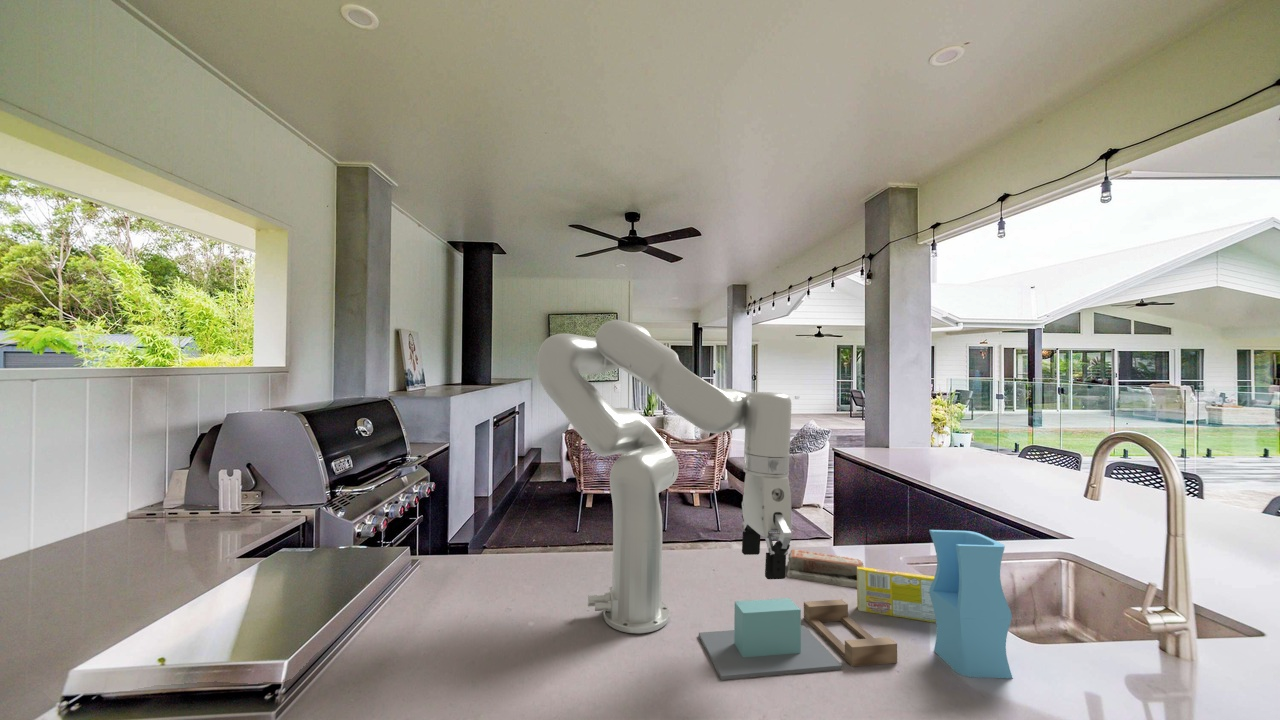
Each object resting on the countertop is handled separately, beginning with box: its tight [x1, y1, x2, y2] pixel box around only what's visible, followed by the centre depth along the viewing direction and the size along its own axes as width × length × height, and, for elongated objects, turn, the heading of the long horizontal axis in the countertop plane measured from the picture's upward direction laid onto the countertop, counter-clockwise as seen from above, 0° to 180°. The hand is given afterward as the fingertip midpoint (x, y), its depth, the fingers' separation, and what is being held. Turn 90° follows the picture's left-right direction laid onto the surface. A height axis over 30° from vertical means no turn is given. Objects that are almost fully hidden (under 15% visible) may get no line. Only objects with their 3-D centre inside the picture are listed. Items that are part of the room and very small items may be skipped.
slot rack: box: [803, 598, 898, 668], centre depth 81 cm, size 8×15×3 cm, turn 9°
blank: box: [733, 597, 802, 657], centre depth 77 cm, size 4×10×7 cm, turn 99°
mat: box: [698, 624, 843, 681], centre depth 76 cm, size 20×12×1 cm, turn 99°
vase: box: [929, 529, 1013, 680], centre depth 75 cm, size 8×8×20 cm
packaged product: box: [786, 549, 865, 589], centre depth 108 cm, size 18×5×10 cm
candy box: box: [856, 566, 936, 624], centre depth 89 cm, size 16×2×8 cm, turn 71°
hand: (762, 565), depth 77 cm, fingers open, 9 cm apart
